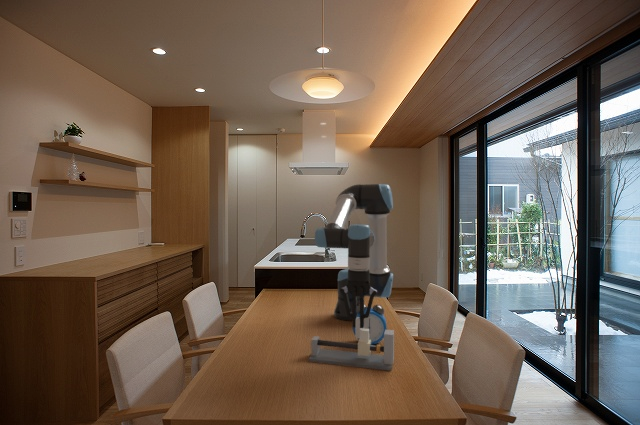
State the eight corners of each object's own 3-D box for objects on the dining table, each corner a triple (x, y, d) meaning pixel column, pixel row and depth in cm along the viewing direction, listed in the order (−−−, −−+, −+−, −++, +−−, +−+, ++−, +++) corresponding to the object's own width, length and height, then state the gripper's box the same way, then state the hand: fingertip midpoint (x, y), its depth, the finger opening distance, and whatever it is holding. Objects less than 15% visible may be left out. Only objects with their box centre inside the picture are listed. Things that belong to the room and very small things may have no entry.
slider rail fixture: (316, 350, 139) (316, 321, 139) (394, 359, 131) (394, 328, 131) (308, 361, 129) (308, 329, 129) (392, 371, 122) (392, 337, 122)
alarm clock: (352, 344, 146) (352, 306, 145) (353, 338, 152) (353, 302, 151) (386, 346, 144) (386, 307, 143) (386, 340, 150) (386, 303, 149)
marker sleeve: (359, 350, 132) (359, 327, 131) (371, 351, 131) (371, 328, 130) (357, 355, 127) (357, 331, 127) (369, 356, 126) (369, 332, 126)
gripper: (338, 269, 127) (337, 338, 128) (376, 271, 124) (375, 342, 124) (342, 266, 135) (341, 331, 135) (378, 268, 131) (378, 335, 131)
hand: (358, 336), depth 130 cm, fingers closed
